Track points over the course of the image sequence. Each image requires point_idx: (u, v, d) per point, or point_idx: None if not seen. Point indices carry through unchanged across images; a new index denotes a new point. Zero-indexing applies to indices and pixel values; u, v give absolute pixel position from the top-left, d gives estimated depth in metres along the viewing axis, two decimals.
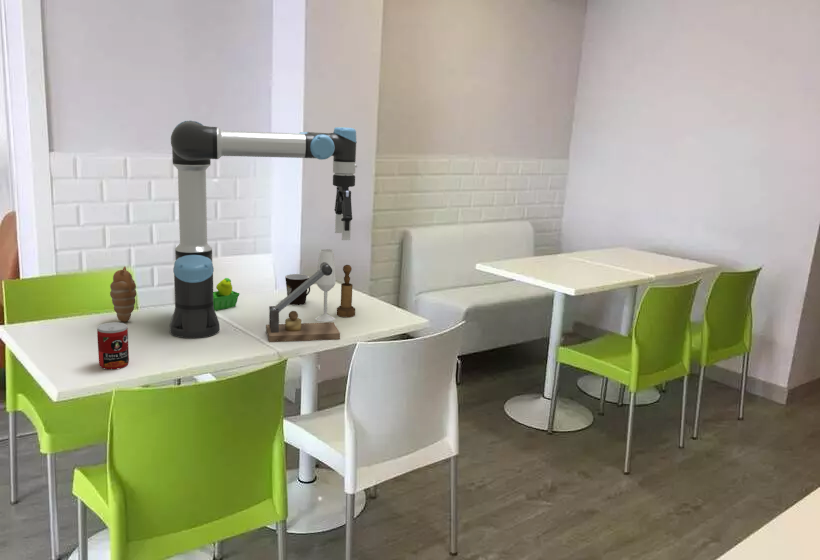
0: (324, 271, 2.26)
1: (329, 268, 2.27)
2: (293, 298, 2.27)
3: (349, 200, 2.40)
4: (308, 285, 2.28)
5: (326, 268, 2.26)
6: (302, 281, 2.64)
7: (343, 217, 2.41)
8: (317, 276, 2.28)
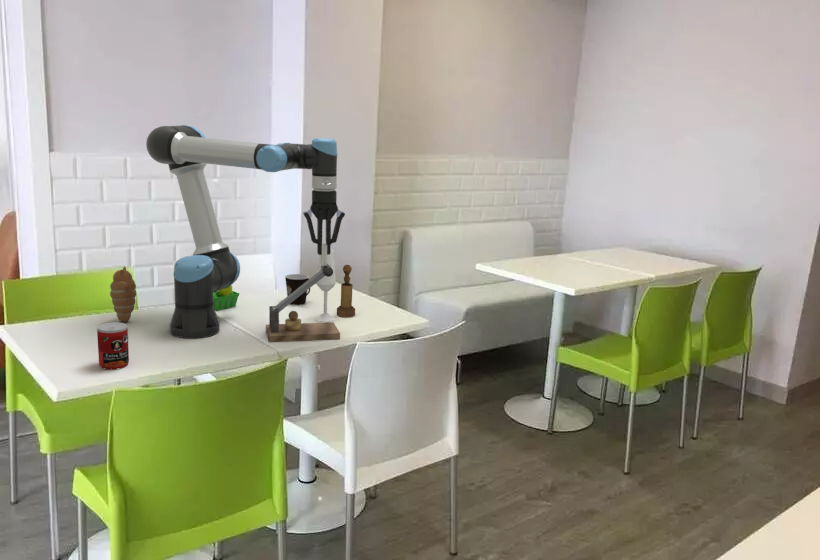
0: (325, 272, 2.27)
1: (330, 269, 2.27)
2: (293, 298, 2.27)
3: None
4: (309, 286, 2.28)
5: (327, 269, 2.27)
6: (302, 281, 2.64)
7: None
8: (318, 277, 2.28)
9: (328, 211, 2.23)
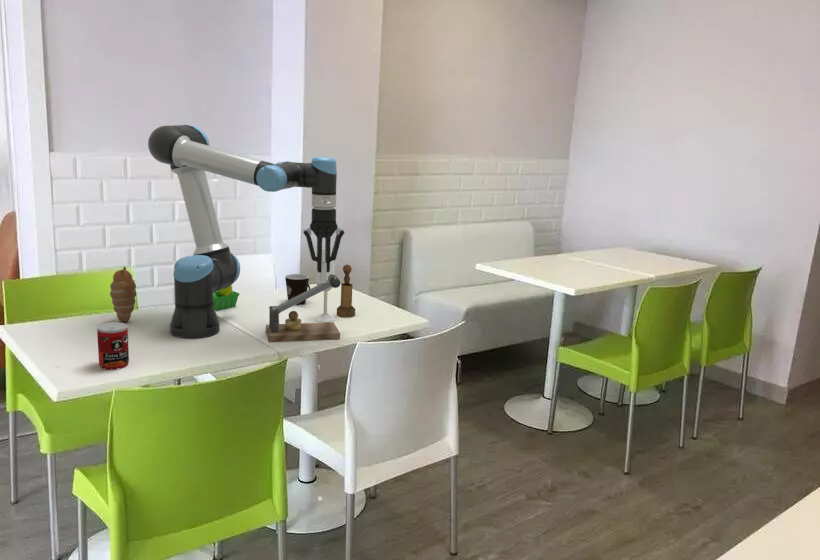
0: (332, 283, 2.28)
1: (338, 281, 2.28)
2: (296, 302, 2.28)
3: (307, 241, 2.25)
4: (313, 293, 2.29)
5: (335, 280, 2.28)
6: (302, 281, 2.64)
7: None
8: (324, 286, 2.29)
9: (328, 229, 2.25)
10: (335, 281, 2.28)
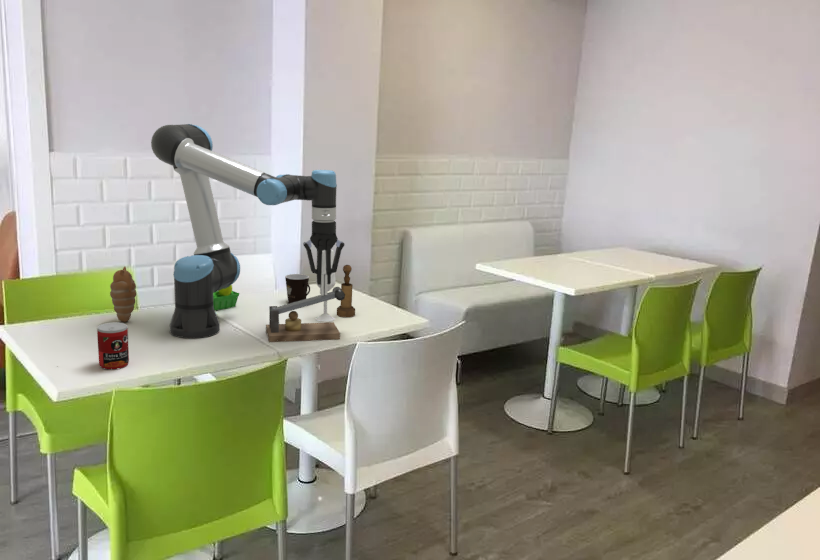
0: (337, 295, 2.29)
1: (343, 294, 2.30)
2: (297, 307, 2.28)
3: (307, 253, 2.26)
4: (316, 301, 2.30)
5: (340, 293, 2.30)
6: (302, 281, 2.64)
7: None
8: (328, 296, 2.30)
9: (328, 242, 2.26)
10: (340, 294, 2.30)
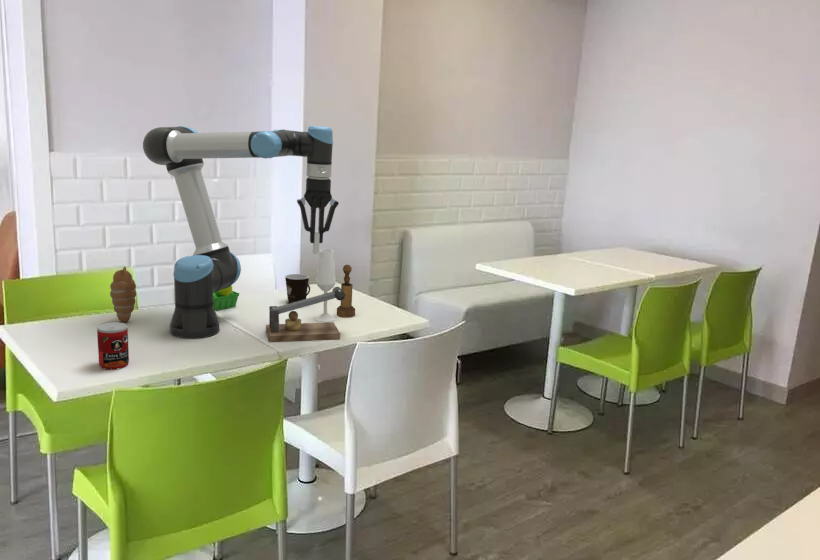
0: (337, 295, 2.29)
1: (343, 294, 2.30)
2: (297, 307, 2.28)
3: (301, 210, 2.23)
4: (316, 301, 2.30)
5: (340, 293, 2.30)
6: (302, 281, 2.64)
7: None
8: (328, 296, 2.30)
9: (322, 199, 2.23)
10: (340, 294, 2.30)
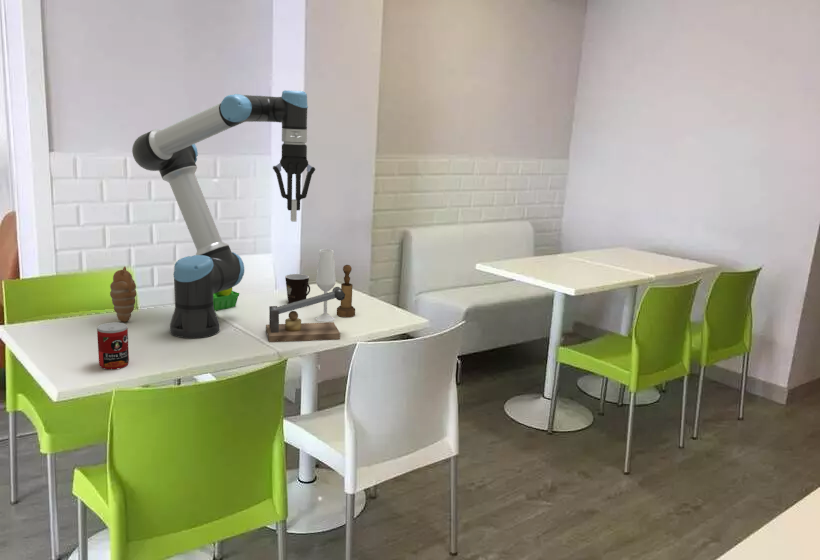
0: (337, 295, 2.29)
1: (343, 294, 2.30)
2: (297, 307, 2.28)
3: (277, 177, 2.20)
4: (316, 301, 2.30)
5: (340, 293, 2.30)
6: (302, 281, 2.64)
7: None
8: (328, 296, 2.30)
9: (298, 165, 2.20)
10: (340, 294, 2.30)
